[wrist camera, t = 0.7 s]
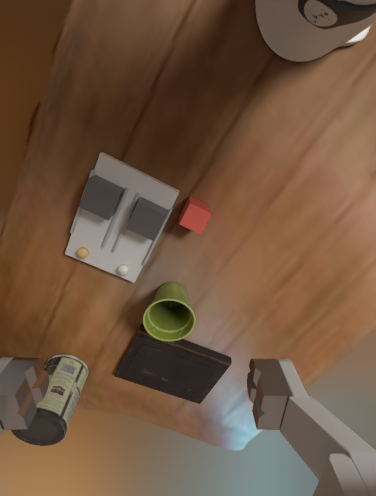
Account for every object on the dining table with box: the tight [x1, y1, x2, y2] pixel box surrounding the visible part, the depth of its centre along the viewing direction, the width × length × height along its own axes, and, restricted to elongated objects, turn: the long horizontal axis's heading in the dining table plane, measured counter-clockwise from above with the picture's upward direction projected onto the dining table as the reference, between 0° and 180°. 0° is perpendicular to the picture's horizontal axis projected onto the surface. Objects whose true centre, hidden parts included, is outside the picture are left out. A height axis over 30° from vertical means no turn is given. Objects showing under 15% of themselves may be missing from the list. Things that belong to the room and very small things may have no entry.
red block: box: [179, 196, 212, 234], centre depth 45 cm, size 4×4×5 cm
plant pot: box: [143, 282, 195, 341], centre depth 50 cm, size 9×9×9 cm
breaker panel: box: [65, 152, 179, 283], centre depth 47 cm, size 20×14×2 cm
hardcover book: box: [114, 324, 231, 404], centre depth 62 cm, size 16×23×2 cm
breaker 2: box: [126, 197, 168, 241], centre depth 44 cm, size 5×5×3 cm
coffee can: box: [11, 354, 89, 446], centre depth 57 cm, size 10×10×14 cm
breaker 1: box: [79, 175, 124, 221], centre depth 42 cm, size 5×5×3 cm
